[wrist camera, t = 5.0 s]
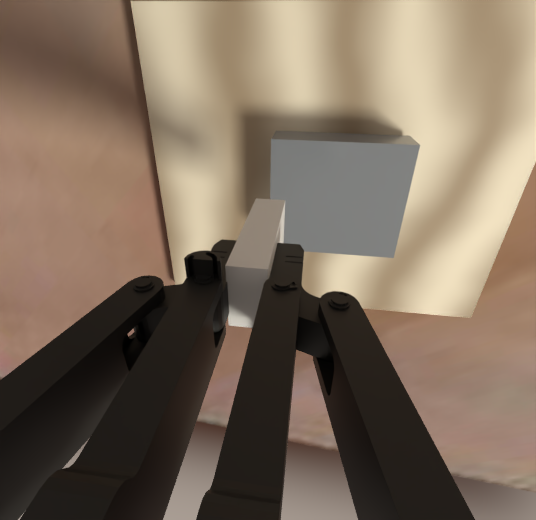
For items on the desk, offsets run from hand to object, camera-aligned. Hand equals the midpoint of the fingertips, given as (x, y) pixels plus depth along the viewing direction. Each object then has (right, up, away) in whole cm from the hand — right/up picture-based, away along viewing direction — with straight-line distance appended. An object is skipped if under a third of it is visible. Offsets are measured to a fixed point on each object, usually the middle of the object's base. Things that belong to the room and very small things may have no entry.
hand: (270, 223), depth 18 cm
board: (+4, +4, +6) cm, 8 cm away
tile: (0, +2, +4) cm, 5 cm away
